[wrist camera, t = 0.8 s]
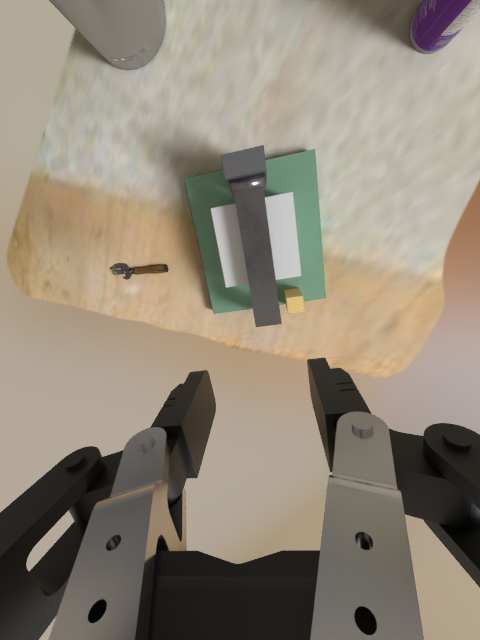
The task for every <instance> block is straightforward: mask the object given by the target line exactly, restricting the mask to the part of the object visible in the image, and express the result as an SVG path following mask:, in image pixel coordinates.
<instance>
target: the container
mask: <svg viewBox="0 0 480 640" xmlns="http://www.w3.org/2000/svg"><path fill="white" fill-rule="evenodd" d="M479 11H480V0H423V2H422V3H421V4H420V6H419V8H418V9H417V11H416V12H415V14H414V16H413V19H412V21H411V25H410V39H411V42H412V45H413V46H414V48H415V49H416V50H417V51H419V52H421V53H424V54H431V53H435V52H437V51H439V50H441V49H442V48H443V47H445V46H446V45H447V44H448V43H449V42H450V41H451V40H452V39H453V38H454V37H455V36H456V35H457V34H458V33H459V32H460V31H461V30H462V29H463V28H464V27H465V26H466V25H467V24H468V23H469V22H470V21H471V19H472V18H473V17H474V16H475V15H476V14H477V13H478V12H479Z"/></svg>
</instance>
